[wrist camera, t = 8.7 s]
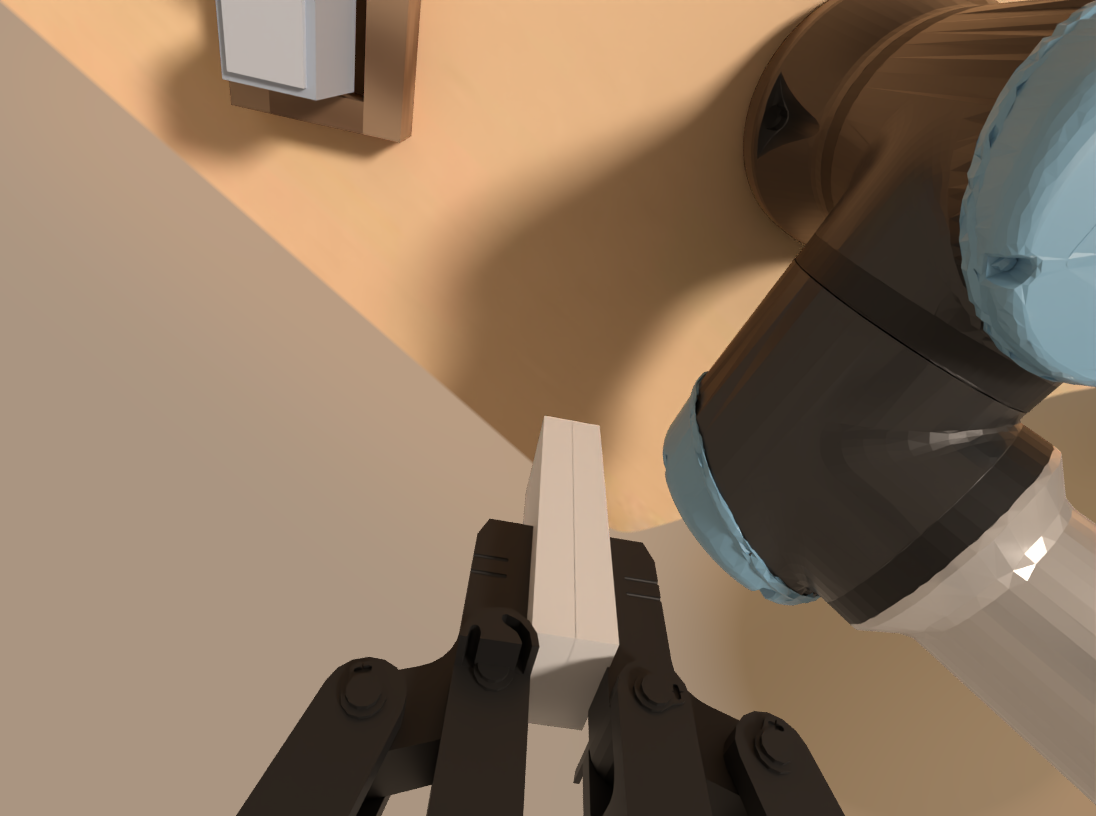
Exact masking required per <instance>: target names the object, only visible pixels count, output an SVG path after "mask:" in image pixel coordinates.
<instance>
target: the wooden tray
mask: <svg viewBox="0 0 1096 816" xmlns="http://www.w3.org/2000/svg"><path fill="white" fill-rule="evenodd" d="M420 5H421V0H367V7H366V41H365V75H364V95H362V94H357V93H353V92H352V93H347V94H343V95H338V96H334V97H330V98H325V99H321V100H312V99H307V98H303V97H299V96H294V95H290V94H285V93H281V92H277V91H272V90H268V89H264V88H259V87H255V86H250V85H246V84H242V83H237V82H233V81H229V82H230V95H231V105H235V106H239V107H244V108H248V109H253V110H257V111H262V112H266V113H271V114H275V115H279V116H284V117H288V118H293V119H297V120H302V121H306V122H310V123H315V124H319V125H324V126H328V127H333V128H337V129H342V130H346V131H350V132H355V133H359V134H364V135H368V136H373V137H377V138H382V139H386V140H390V141H395V142H399V143H400V142H402V141H404V140H405V139H407V138H409V137H410V136H411V132H412V118H413V104H414V90H415V76H416V62H417V47H418V33H419V19H420Z"/></svg>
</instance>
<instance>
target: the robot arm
mask: <svg viewBox="0 0 1096 816" xmlns="http://www.w3.org/2000/svg"><path fill="white" fill-rule="evenodd" d="M743 151H744V164H745V170H746V175H747V179H748V182H749V185H750V188H751V190H752V193H753V195H754V197H755V199H756V201H757V202H758V204H759V205H760V207H761V208H762V210H763V211H764V212H765V214H766V215H767V216H768V217H769V218H770V219H771V220H772V221H773V222H774V223H775V224H777V225H778V226H779V227H780V228H781V229H782V230H784V231H785V232H786V233H787V234H789V235H790V236H792V237H793V238H795V239H797V240H798V241H800V242H802V243H804V244H806V245H805V247H804V248H803V249H802V251H801V252H800V253H799V254H798V256H797V257H796V258H795V259H794V260H793V261H792V263H791V264H790V265H789V267H788V268H787V269H786V270H785V272H784V273H783V274H782V276H781V277H780V278H779V280H778V281H777V282H776V284H775V285H774V286H773V288H772V289H771V290H770V291H769V293H768V294H767V295H766V297H765V298H764V299H763V301H762V302H761V303H760V305H759V306H758V307H757V308H756V310H755V311H754V312H753V314H752V315H751V316H750V318H749V319H748V320H747V322H746V323H745V324H744V326H743V327H742V328H741V329H740V331H739V332H738V333H737V335H736V336H735V337H734V339H733V340H732V341H731V343H730V344H729V345H728V346H727V348H726V349H725V350H724V352H723V353H722V354H721V356H720V357H719V358H718V360H717V361H716V362H715V364H714V365H713V366H712V367H711V369H710V370H709V371H707V372H704V373H703V374H702V375H701V376H700V377H699V378H698V380H697V381H696V383H695V385H694V386H693V389H692V392H691V396H690V397H689V399H688V400H687V402H686V403H685V405H684V406H683V408H682V409H681V411H680V412H679V414H678V415H677V417H676V418H675V420H674V421H673V423H672V424H671V425H670V427H669V429H668V431H667V434H666V437H665V440H664V445H663V461H664V465H665V468H666V472H665V478H666V482H667V485H668V488H669V491H670V493H671V496H672V499H673V501H674V503H675V505H676V507H677V509H678V511H679V513H680V515H681V517H682V519H683V520H684V522H685V524H686V525H687V526H688V528H689V530H690V531H691V532H692V534H693V535H694V536H695V538H696V539H697V541H698V542H699V543H700V545H701V546H702V547H703V548H704V550H705V551H706V552H707V553H708V554H709V555H710V556H711V557H712V559H713V560H714V561H715V562H716V563H717V564H718V565H719V566H720V567H721V568H722V569H723V570H724V571H725V572H727V573H728V574H729V575H730V576H731V577H733V578H734V579H735V580H736V581H737V582H739V583H740V584H742V585H743V586H744V587H746V588H748V589H749V590H751V591H755V590H760V591H761V593H762V594H763V596H764V597H765V599H768V600H770V601H773V602H775V603H778V604H783V605H797V604H801V603H809V602H811V601H816V600H817V599H818V598H819V597H822V598H823V599H824V600H825V601H826V602H827V603H828V604H829V605H830V606H831V607H832V608H834V609H835V610H836V611H837V612H838V613H839V614H840V615H841V616H842V617H843V618H844V619H845V620H846V621H847V622H848V623H849V624H850V625H851V626H853V627H854V628H855V629H856V630H865V631H878V632H890V633H900V634H903V635H906V636H909V637H912V638H914V639H915V640H916V641H917V642H918V643H919V644H920V645H921V646H922V647H924V648H925V649H926V650H927V651H928V652H929V653H930V654H931V655H932V656H934V657H935V658H936V659H937V660H938V661H939V662H940V663H941V664H942V665H943V666H944V667H946V668H947V669H948V670H949V671H950V672H951V673H952V674H953V675H954V676H955V677H957V678H958V679H959V680H960V681H961V682H962V683H963V684H964V685H965V686H966V687H967V688H969V689H970V690H971V691H972V692H973V693H974V694H975V695H976V696H977V697H978V698H980V699H981V700H982V701H983V702H984V703H985V704H986V705H987V706H988V707H989V708H990V709H991V710H993V711H994V712H995V713H996V714H997V715H998V716H999V717H1000V718H1001V719H1002V720H1003V721H1005V722H1006V723H1007V724H1008V725H1009V726H1010V727H1011V728H1012V729H1013V730H1015V732H1017V733H1018V734H1019V735H1020V736H1021V737H1022V738H1023V739H1024V740H1025V741H1026V742H1028V743H1029V744H1030V745H1031V746H1032V747H1033V748H1034V749H1035V750H1036V751H1038V753H1040V754H1041V755H1042V756H1043V757H1044V758H1045V759H1046V760H1047V761H1049V763H1050V764H1052V765H1053V766H1054V767H1055V768H1056V769H1057V770H1058V771H1059V772H1060V773H1061V774H1063V775H1064V776H1065V777H1066V778H1067V779H1068V780H1069V781H1070V782H1071V783H1072V784H1074V785H1075V786H1076V787H1077V788H1078V789H1079V790H1080V791H1081V792H1082V793H1083V794H1084V795H1086V796H1087V797H1088V798H1089V799H1090V800H1091V801H1092V802H1093V803H1094V804H1096V524H1095V523H1094V522H1092V521H1091V520H1090V519H1088V518H1087V517H1085V516H1084V515H1083V514H1081V513H1080V512H1078V511H1077V510H1076V509H1074V507H1073V506H1072V505H1071V504H1070V502H1069V501H1068V500H1067V499H1066V495H1065V486H1064V475H1063V465H1062V456H1061V452H1060V451H1059V450H1058V449H1057V448H1056V447H1054V446H1053V445H1052V444H1051V443H1049V442H1048V441H1046V440H1045V439H1043V438H1042V437H1041V436H1039V435H1038V434H1036V433H1035V432H1033V431H1032V430H1030V429H1029V428H1028V427H1026V426H1025V425H1023V424H1022V423H1021V421H1020V419H1021V418H1022V417H1023V416H1024V415H1025V414H1026V413H1027V412H1030V410H1031V409H1033V408H1034V407H1035V406H1036V405H1037V404H1039V403H1040V402H1041V401H1042V400H1043V399H1044V398H1046V397H1047V396H1048V395H1049V394H1050V393H1051V392H1053V391H1054V390H1055V389H1056V388H1057V387H1058V386H1060V385H1061V384H1062V383H1063V382H1064V383H1069V384H1074V385H1076V384H1077V385H1084V386H1092V387H1096V0H1027V1H1018V2H1009V3H999V2H998V1H996V0H829V1H827V2H826V3H824V4H823V5H821V6H820V7H819V8H817V9H816V10H815V11H814V12H812V13H811V14H810V15H809V16H808V17H807V18H805V19H804V20H803V21H802V22H801V23H800V24H799V25H798V26H797V27H796V28H795V29H794V30H793V31H792V32H791V34H790V35H789V36H788V37H787V38H786V39H785V41H784V42H783V43H782V44H781V46H780V47H779V48H778V50H777V51H776V53H775V54H774V55H773V57H772V58H771V60H770V62H769V63H768V65H767V67H766V68H765V70H764V72H763V74H762V76H761V78H760V80H759V82H758V85H757V87H756V89H755V92H754V94H753V97H752V100H751V103H750V106H749V110H748V114H747V119H746V124H745V131H744V144H743ZM657 582H658V580H657V574H656V568H655V562H654V560H653V559H652V557H651V556H650V554H649V552H648V551H647V549H646V547H645V546H644V544H643V543H641V542H635V541H629V540H623V539H617V538H611V537H610V536H609V524H608V513H607V502H606V490H605V479H604V468H603V456H602V445H601V434H600V426H599V425H594V424H588V423H583V422H578V421H572V420H567V419H561V418H556V417H550V416H545V415H544V419H543V423H542V427H541V432H540V436H539V440H538V444H537V448H536V453H535V457H534V461H533V465H532V470H531V474H530V478H529V482H528V487H527V490H526V498H525V509H524V521H523V524H519V523H513V522H506V521H501V520H494V519H489V520H488V522H487V523H486V524H485V525H484V526H483V528H482V529H481V530H480V531H479V533H478V534H477V540H476V545H475V550H474V555H473V561H472V566H471V571H470V577H469V582H468V588H467V593H466V599H465V604H464V610H463V615H462V621H461V626H460V632H459V635H458V639H457V641H456V642H455V644H454V645H453V647H452V648H451V650H450V651H449V652H447V653H446V654H445V655H444V656H443V657H441V658H440V659H438V660H436V661H434V662H432V663H429V664H426V665H422V666H418V667H412V668H407V669H401V670H398V669H397V667H395V666H393V665H392V664H390V663H389V662H387V661H386V660H383V659H378V658H372V657H366V658H360V659H355V660H351V661H349V662H348V663H346V664H344V665H342V666H340V667H338V668H337V669H336V670H335V671H334V672H333V673H332V674H331V675H330V677H329V678H328V679H327V680H326V681H325V682H324V684H323V685H322V687H321V688H320V690H319V691H318V693H317V694H316V696H315V697H314V699H313V701H312V702H311V704H310V705H309V707H308V708H307V710H306V711H305V713H304V714H303V716H302V717H301V719H300V720H299V722H298V723H297V725H296V726H295V728H294V730H293V731H292V732H291V734H290V735H289V737H288V738H287V740H286V742H285V743H284V744H283V746H282V747H281V749H280V750H279V752H278V753H277V755H276V757H275V758H274V759H273V761H272V762H271V764H270V765H269V767H268V768H267V770H266V772H265V773H264V775H263V776H262V778H261V779H260V781H259V782H258V784H257V785H256V787H255V788H254V790H253V791H252V793H251V794H250V796H249V797H248V799H247V800H246V802H245V803H244V805H243V806H242V808H241V809H240V811H239V812H238V814H237V815H236V816H381V815H382V813H383V811H384V808H385V806H386V804H387V802H388V800H389V797H390V795H392V794H397V793H400V792H404V791H409V790H412V789H417V788H420V787H424V786H428V785H432V787H431V792H430V798H429V803H428V809H427V815H426V816H523V808H524V789H525V770H526V751H527V731H528V723H532V724H540V725H547V726H554V727H561V728H569V729H577V730H582V729H583V727H584V725H585V722H586V720H587V718H588V725H589V742H588V744H587V746H586V749H585V751H584V753H583V755H582V757H581V759H580V762H579V764H578V766H577V768H576V771H575V777H574V782H573V783H577V784H579V783H580V781H581V779H582V777H583V808H584V816H845V815H844V813H843V811H842V809H841V808H840V806H839V804H838V802H837V800H836V798H835V797H834V795H833V793H832V791H831V789H830V788H829V786H828V784H827V782H826V780H825V778H824V776H823V775H822V773H821V771H820V769H819V767H818V766H817V764H816V762H815V760H814V758H813V756H812V755H811V753H810V751H809V749H808V747H807V745H806V744H805V743H804V741H803V740H802V739H801V737H800V736H799V734H798V733H797V732H796V731H795V730H794V729H793V728H792V727H791V726H790V725H788V724H787V723H786V722H785V721H784V720H782V719H780V718H778V717H776V716H774V715H772V714H770V713H767V712H757V711H754V712H751V713H749V714H746V715H744V716H743V717H742V718H741V720H740V721H739V720H737V719H735V718H733V717H731V716H729V715H727V714H725V713H722V712H720V711H718V710H716V709H714V708H712V707H710V706H708V705H706V704H705V703H702V702H701V701H700V700H698V699H697V698H695V697H694V696H693V695H692V694H691V693H690V692H688V691H687V688H686V686H685V684H684V683H683V681H682V680H681V679H680V678H679V676H678V675H677V674H676V673H675V671H674V668H673V665H672V661H671V656H670V650H669V644H668V639H667V632H666V627H665V621H664V616H663V609H662V603H661V602H660V591H659V586H658V585H657Z"/></svg>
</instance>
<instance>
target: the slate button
mask: <svg viewBox="0 0 1096 816" xmlns="http://www.w3.org/2000/svg"><path fill="white" fill-rule="evenodd" d="M215 1H216V12H217V23H218V35H219V46H220V58H221V69H222V79H224V80H229V81H233V82H237V83H242V84H246V85H250V86H255V87H259V88H264V89H268V90H272V91H277V92H281V93H285V94H290V95H294V96H299V97H303V98H307V99H312V100H321V99H325V98H330V97H334V96H338V95H343V94H347V93H352V92H354V77H355V30H356V0H215Z"/></svg>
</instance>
